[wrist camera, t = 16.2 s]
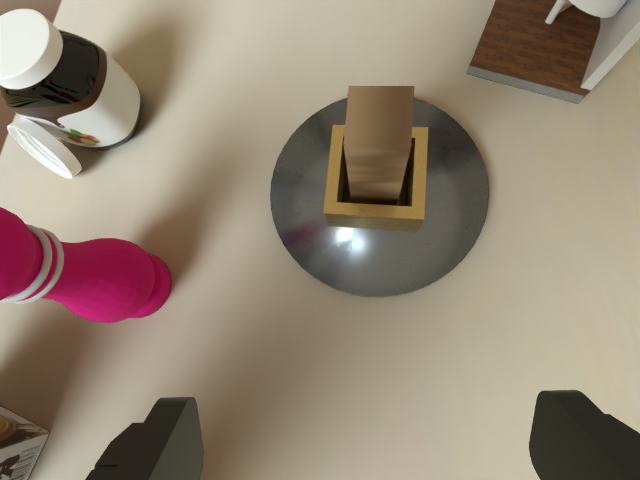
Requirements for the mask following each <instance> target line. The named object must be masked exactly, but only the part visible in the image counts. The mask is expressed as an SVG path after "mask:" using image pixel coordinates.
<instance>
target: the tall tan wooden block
mask: <svg viewBox="0 0 640 480" xmlns="http://www.w3.org/2000/svg"><path fill="white" fill-rule="evenodd" d="M413 99H414V86H349V90H348V101H347V112H346V123H345V133H344V152H345V159H346V166H347V174H348V181H349V189H350V196H351V203H358V204H375V205H392V206H397V203H398V199H399V195H400V191H401V187H402V183H403V178H404V174H405V170H406V166H407V162H408V158H409V153H410V149H411V141H412V120H413Z"/></svg>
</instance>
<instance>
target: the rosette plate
mask: <svg viewBox="0 0 640 480" xmlns="http://www.w3.org/2000/svg"><path fill="white" fill-rule="evenodd" d="M347 101H348V98H346V99H343V100H340V101H338V102H335V103H333V104H330V105H329V106H327V107H325V108H323V109H321V110H319V111H318V112H317V113H315V114H314V115H312V116H311V117H310V118H308V119H307V120H306V121H305V122H304V123H303V124H302V125H301V126H299V128H298V129H297V130H296V131H295V132H294V133H293V135H292V136H291V137H290V139H289V140H288V141H287V143H286V144H285V146H284V148H283V150H282V152H281V154H280V156H279V158H278V160H277V163H276V166H275V169H274V172H273V177H272V182H271V194H270V197H271V210H272V215H273V220H274V223H275V226H276V229H277V232H278V234H279V236H280V238H281V240H282V242H283V244H284V246H285V247H286V249H287V250H288V251H289V253H290V254H291V256H292V257H293V258H294V259H295V260H296V261H297V262H298V263H299V265H300V266H301V267H302V268H304V269H305V270H306V271H307V272H308V273H310V274H311V275H312V276H313V277H315V278H316V279H318V280H319V281H321V282H323V283H324V284H326V285H328V286H330V287H332V288H335V289H337V290H339V291H343V292H346V293H349V294H352V295H358V296H365V297H390V296H398V295H402V294H407V293H411V292H414V291H416V290H419V289H421V288H424V287H426V286H428V285H430V284H432V283H433V282H435V281H437V280H439V279H440V278H442V277H443V276H444V275H446V274H447V273H448V272H450V271H451V270H453V269H454V268H455V267H456V266H457V265H458V264H459V263H460V262H461V261H462V260H463V259H464V258H465V256H466V255H467V254H468V252H469V251H470V250H471V248H472V247H473V245H474V244H475V242H476V240H477V238H478V236H479V235H480V232H481V230H482V227H483V224H484V222H485V218H486V213H487V209H488V199H489V188H488V178H487V173H486V169H485V165H484V162H483V160H482V157H481V154H480V152H479V151H478V149H477V147H476V145H475V143H474V142H473V140H472V139H471V137H470V136H469V135H468V133H467V132H466V131H465V130H464V129H463V128H462V127H461V126H460V125H459V124H458V122H457V121H455V120H454V119H453V118H452V117H450V116H449V115H448V114H447V113H445V112H443V111H442V110H440V109H439V108H437V107H435V106H433V105H431V104H429V103H427V102H424V101H422V100H419V99H416V98H414V99H413V120H412V141H411V149H410V153H409V158H408V162H407V166H406V170H405V174H404V178H403V183H402V187H401V191H400V195H399V199H398V203H397V206H392V205H375V204H358V203H351V196H350V189H349V181H348V174H347V166H346V159H345V152H344V133H345V123H346V112H347Z"/></svg>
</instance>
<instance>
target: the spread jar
mask: <svg viewBox="0 0 640 480" xmlns="http://www.w3.org/2000/svg"><path fill="white" fill-rule="evenodd" d="M0 93H1V96H2V98H3V100H4V101H5V103H6V105H7V106H8V107H9V108H10V109H12V110H13V111H14V112H15V113H17V114H18V115H20V116H21V117H19V118H18V119H17V120H15V121H14V122H13V123H11V124H10V125H9V126H7V129H8V131H9V133H10V134H11V135H12V137H13V138H14V139H15V140H16V141H17V142H18V143H19V144H20V145H21V146H22V147H23V148H24V149H25V150H26V151H27V152H28V153H29V154H31V155H32V156H33V157H34V158H35V159H37V160H38V161H39V162H41V163H42V164H43V165H45V166H46V167H47V168H49V169H50V170H52V171H54V172H55V173H57V174H59V175H60V176H62V177H65V178H68V179H72V178H73V177H74V176H75V175H76V174H78V173H79V172H80V171H81V170H82V167H81V165H80V163H79V161H78V160H77V159H76V157H75V156H74V155H73V154H72V153H71V152H70V150H69V149H68V148H66V147H65V146H64V145H63V144H62V143H61V142H60V141H59V140H58V139H57V138H59V139H61V140H64V141H66V142H69V143H72V144H75V145H79V146H83V147H87V148H93V149H108V148H113V147H116V146H118V145H120V144H122V143H124V142H125V141H126V140H127V139H129V138H130V136H131V135H132V134H133V132H134V131H135V129H136V126H137V124H138V121H139V117H140V110H141V101H140V94H139V90H138V88H137V86H136V84H135V82H134V81H133V80H132V78H131V77H130V76H129V75H128V74H127V73H126V72H125V71H124V70H123V68H122V67H121V66H120V65H119V64H118V63H117V62H116V61H115V60H114V59H113V58H112V57H111V56H110V55H109V54H108V53H107V52H105V51H104V50H103V49H102V48H101V47H99V46H98V45H96V44H95V43H93V42H91V41H89V40H87V39H85V38H83V37H80V36H78V35H75V34H72V33H69V32H66V31H62V30H58V29H57V28H56V27H55V26H54V25H53V24H52V23H51V22H50V21H49V20H48V19H46V18H45V17H44V16H43V15H42V14H41V13H40V12H37V11H35V10H31V9H17V10H13V11H10V12H7V13H5V14H3V15H1V16H0ZM54 136H55V137H57V138H55V137H54Z"/></svg>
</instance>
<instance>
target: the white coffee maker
mask: <svg viewBox="0 0 640 480" xmlns="http://www.w3.org/2000/svg"><path fill="white" fill-rule="evenodd" d="M639 39H640V0H496V1H495V4H494V6H493V9H492V11H491V14H490V16H489V19H488V21H487V24H486V26H485V29H484V31H483V34H482V36H481V39H480V41H479V43H478V46H477V48H476V51H475V53H474V56H473V58H472V61H471V63H470V66H469V69H468V71H467V74H469V75H473V76H477V77H481V78H484V79H488V80H492V81H495V82H499V83H503V84H506V85H510V86H514V87H517V88H521V89H525V90H528V91H532V92H536V93H539V94H543V95H547V96H550V97H554V98H558V99H562V100H565V101H569V102H573V103H576V104H578V103H579V102H580V101H581V100H582V99H583V98H584V97H585V96H586V95H587V94H588V93H589V92H590V91H591V90H592V88H593V87H594V86H595V85H596V84H597V83H598V82H599V81H600V80H601V79H602V78H603V77H604V76H605V75H606V74H607V73H608V72H609V70H610V69H611V68H612V67H613V66H614V65H615V64H616V63H617V62H618V61H619V60H620V59H621V58H622V57H623V56H624V55H625V54H626V53H627V51H628V50H629V49H630V48H631V47H632V46H633V45H634V44H635V43H636V42H637V41H638V40H639Z"/></svg>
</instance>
